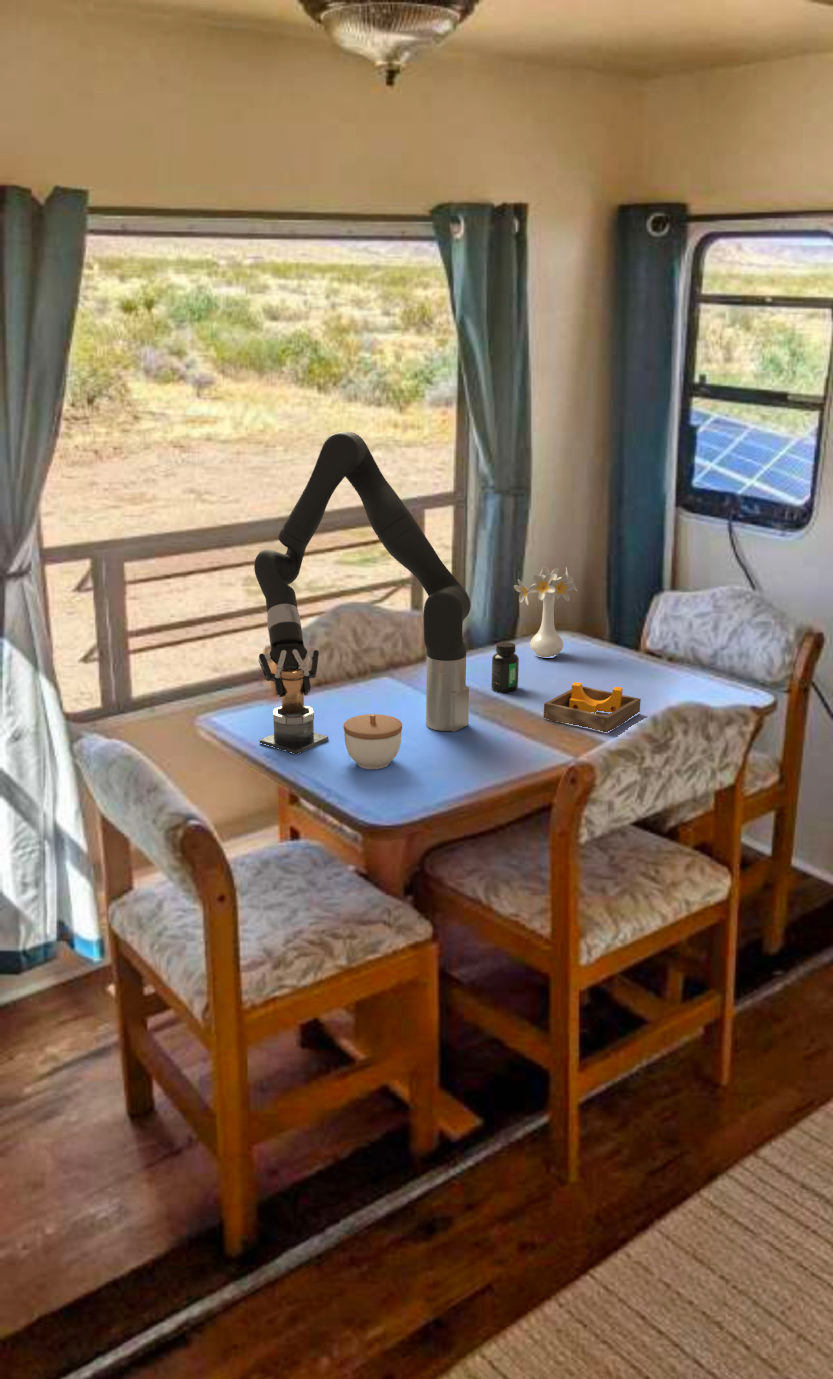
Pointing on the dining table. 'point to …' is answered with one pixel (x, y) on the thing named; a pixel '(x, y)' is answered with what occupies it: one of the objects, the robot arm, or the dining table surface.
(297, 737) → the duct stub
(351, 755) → the lidded bowl
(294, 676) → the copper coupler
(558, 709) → the hardware corral
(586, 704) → the pipe clamp
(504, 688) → the supplement bottle
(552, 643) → the flower vase
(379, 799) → the dining table surface
